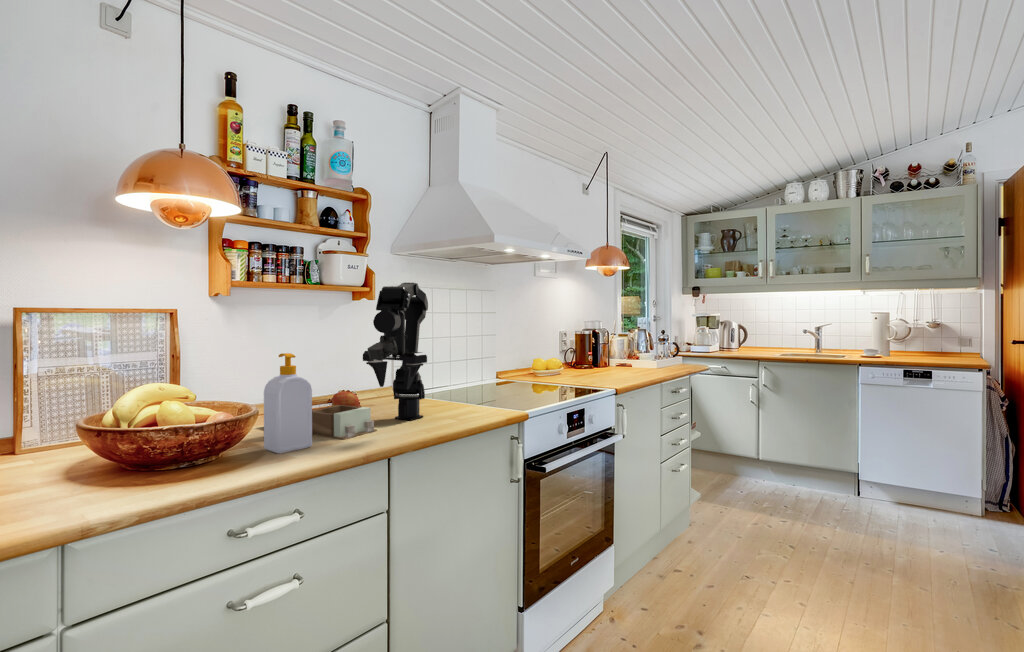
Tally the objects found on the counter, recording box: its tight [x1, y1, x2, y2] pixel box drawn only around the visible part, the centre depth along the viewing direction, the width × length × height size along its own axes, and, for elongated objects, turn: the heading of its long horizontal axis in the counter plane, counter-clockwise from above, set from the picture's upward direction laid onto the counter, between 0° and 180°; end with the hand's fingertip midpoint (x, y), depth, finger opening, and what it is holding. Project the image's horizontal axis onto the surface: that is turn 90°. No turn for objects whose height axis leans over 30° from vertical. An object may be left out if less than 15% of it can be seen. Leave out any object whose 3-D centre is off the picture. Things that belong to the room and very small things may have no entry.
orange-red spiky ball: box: [331, 391, 360, 407], centre depth 167 cm, size 8×8×8 cm
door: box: [334, 406, 372, 437], centre depth 144 cm, size 11×2×6 cm, turn 151°
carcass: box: [312, 405, 378, 441], centre depth 146 cm, size 12×14×6 cm
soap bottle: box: [263, 352, 313, 455], centre depth 128 cm, size 9×7×23 cm
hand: (394, 388), depth 147 cm, fingers open, 9 cm apart
